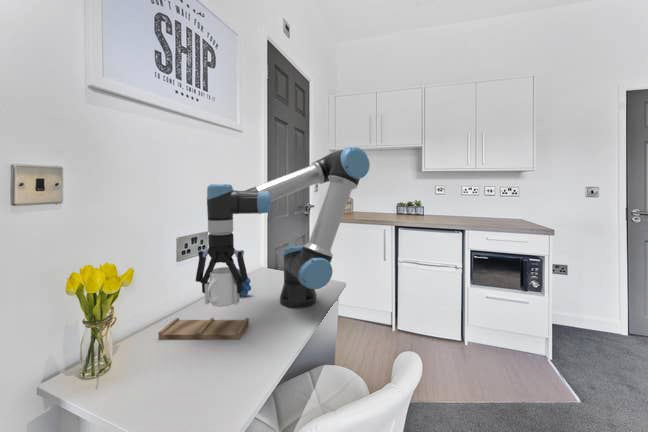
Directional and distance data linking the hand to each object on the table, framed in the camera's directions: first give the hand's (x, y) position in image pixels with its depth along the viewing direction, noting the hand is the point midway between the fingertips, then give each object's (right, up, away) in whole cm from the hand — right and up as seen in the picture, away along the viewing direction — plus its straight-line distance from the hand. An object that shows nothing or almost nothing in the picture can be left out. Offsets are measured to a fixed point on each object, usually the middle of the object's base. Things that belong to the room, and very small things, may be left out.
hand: (222, 302), depth 89 cm
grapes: (-5, -7, +32) cm, 33 cm away
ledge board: (-6, -10, +1) cm, 11 cm away
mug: (0, -1, 0) cm, 1 cm away
